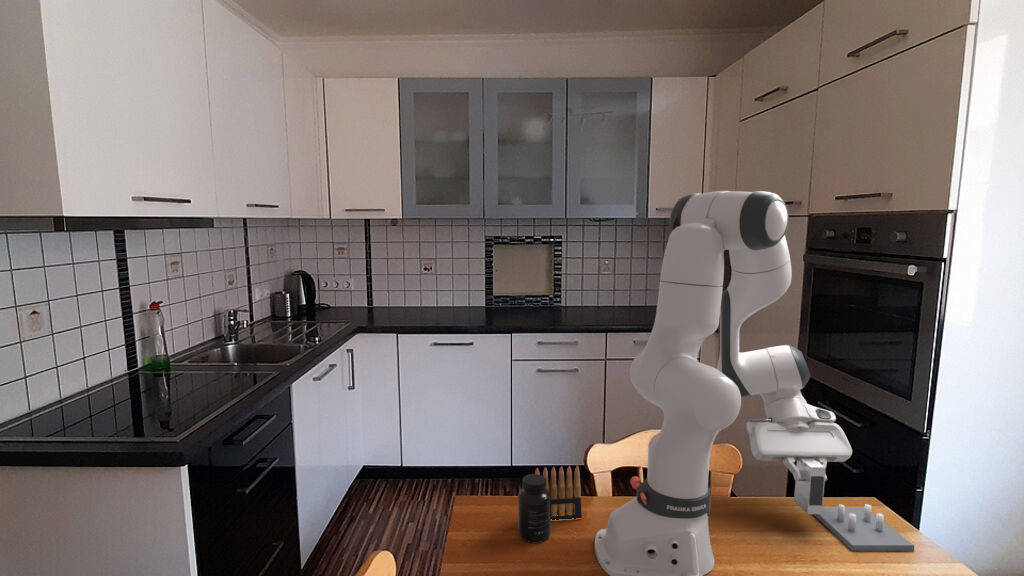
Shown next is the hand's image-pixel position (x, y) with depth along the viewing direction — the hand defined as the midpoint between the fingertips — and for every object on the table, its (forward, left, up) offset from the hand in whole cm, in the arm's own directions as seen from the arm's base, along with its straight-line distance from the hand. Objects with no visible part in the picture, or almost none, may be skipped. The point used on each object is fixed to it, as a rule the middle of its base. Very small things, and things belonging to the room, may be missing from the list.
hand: (811, 480), depth 106 cm
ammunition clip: (-52, +4, -11) cm, 54 cm away
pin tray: (+10, 0, -11) cm, 15 cm away
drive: (0, +1, -6) cm, 6 cm away
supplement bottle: (-57, -2, -11) cm, 59 cm away
